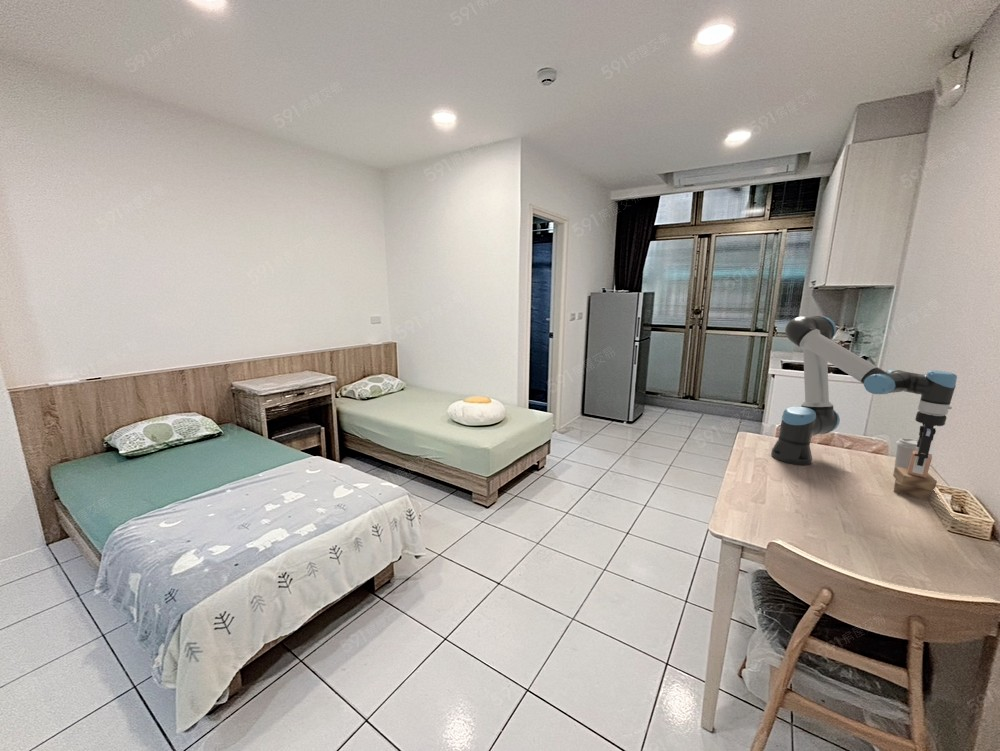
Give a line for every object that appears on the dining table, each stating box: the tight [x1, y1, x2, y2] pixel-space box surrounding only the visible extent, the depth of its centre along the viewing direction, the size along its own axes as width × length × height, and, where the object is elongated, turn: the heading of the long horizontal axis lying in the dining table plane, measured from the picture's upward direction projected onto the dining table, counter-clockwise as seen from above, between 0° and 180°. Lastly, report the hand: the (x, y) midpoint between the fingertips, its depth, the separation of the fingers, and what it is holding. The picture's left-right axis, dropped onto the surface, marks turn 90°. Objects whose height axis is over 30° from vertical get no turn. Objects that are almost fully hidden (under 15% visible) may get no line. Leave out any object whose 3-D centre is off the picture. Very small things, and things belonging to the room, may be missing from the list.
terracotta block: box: [908, 451, 933, 478], centre depth 151 cm, size 5×5×8 cm
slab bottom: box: [893, 479, 933, 502], centre depth 154 cm, size 10×10×4 cm
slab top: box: [892, 466, 938, 492], centre depth 153 cm, size 9×9×4 cm
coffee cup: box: [893, 437, 918, 471], centre depth 167 cm, size 10×10×15 cm
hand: (917, 468), depth 152 cm, fingers open, 10 cm apart
